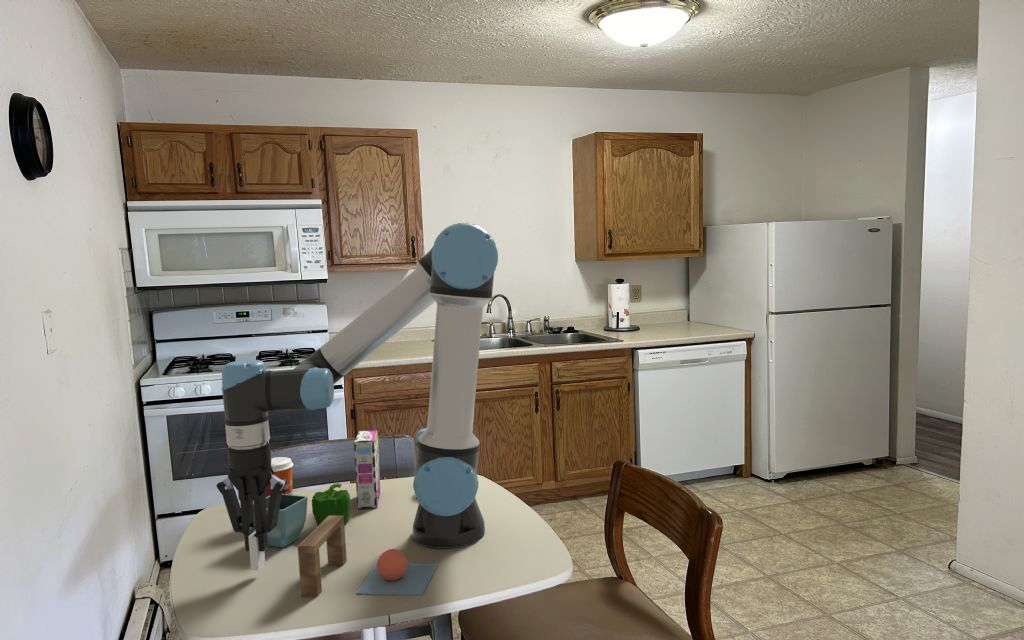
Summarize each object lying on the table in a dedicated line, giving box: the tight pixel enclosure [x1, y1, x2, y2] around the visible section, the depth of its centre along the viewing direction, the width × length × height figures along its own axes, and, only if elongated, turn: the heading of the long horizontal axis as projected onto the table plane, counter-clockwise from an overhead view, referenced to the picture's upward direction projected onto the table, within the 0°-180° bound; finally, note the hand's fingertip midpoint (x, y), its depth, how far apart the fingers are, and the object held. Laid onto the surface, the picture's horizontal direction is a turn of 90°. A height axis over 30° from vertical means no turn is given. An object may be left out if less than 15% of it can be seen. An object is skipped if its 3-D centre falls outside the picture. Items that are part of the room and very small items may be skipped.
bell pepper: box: [311, 482, 352, 527], centre depth 156 cm, size 8×8×10 cm
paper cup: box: [266, 456, 294, 497], centre depth 161 cm, size 8×8×14 cm
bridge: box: [297, 516, 347, 598], centre depth 131 cm, size 3×14×9 cm, turn 173°
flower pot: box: [253, 494, 309, 548], centre depth 149 cm, size 9×9×9 cm
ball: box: [376, 548, 408, 581], centre depth 130 cm, size 6×6×6 cm
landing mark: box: [355, 563, 438, 596], centre depth 130 cm, size 12×12×1 cm
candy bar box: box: [353, 429, 381, 510], centre depth 172 cm, size 11×5×16 cm, turn 6°
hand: (258, 567), depth 133 cm, fingers closed
